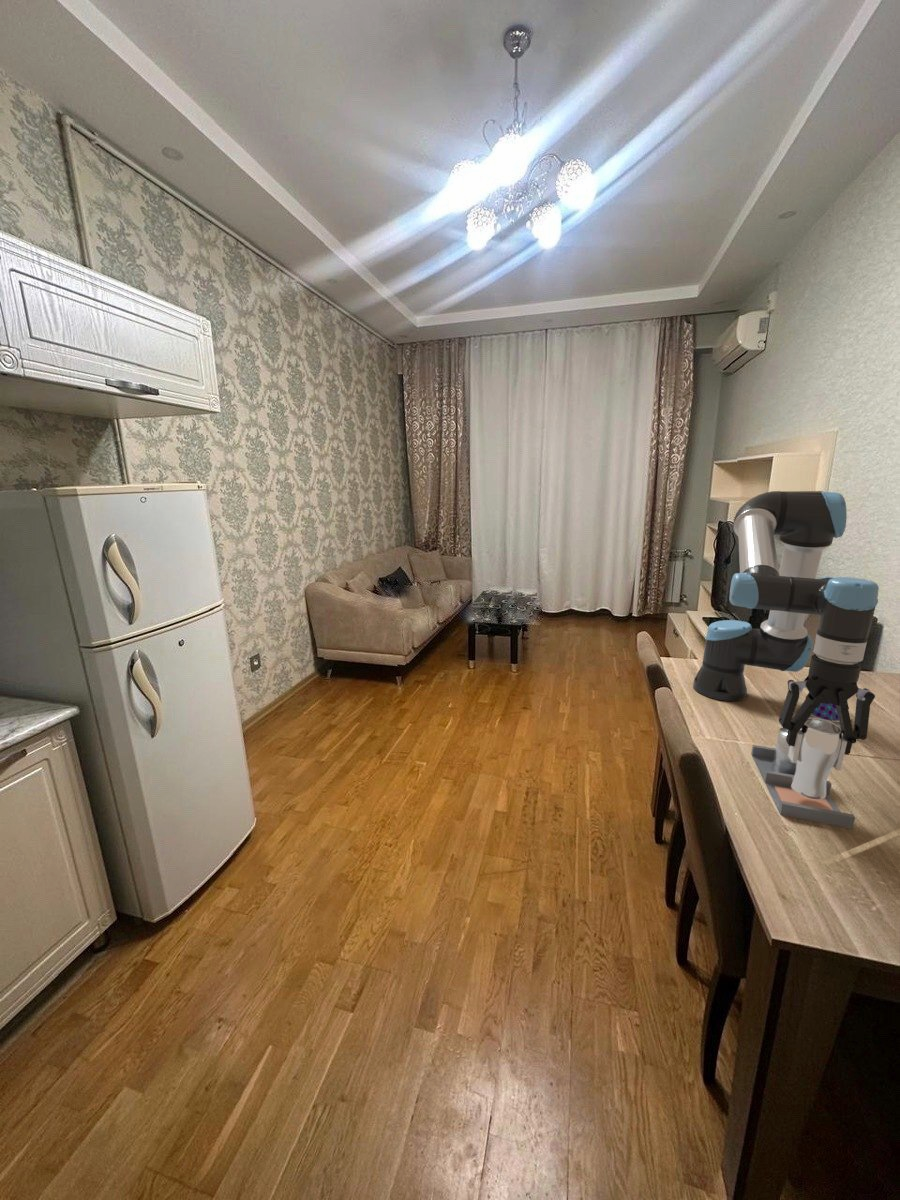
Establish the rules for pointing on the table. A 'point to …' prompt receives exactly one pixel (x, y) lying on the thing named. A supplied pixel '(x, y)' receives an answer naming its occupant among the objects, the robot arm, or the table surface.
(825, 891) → the table surface
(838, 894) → the table surface
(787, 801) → the slot rack
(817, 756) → the beer glass
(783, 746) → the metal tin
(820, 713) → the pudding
